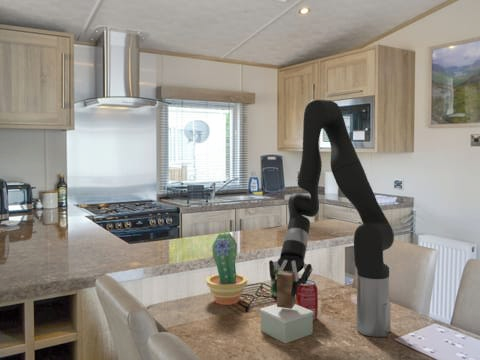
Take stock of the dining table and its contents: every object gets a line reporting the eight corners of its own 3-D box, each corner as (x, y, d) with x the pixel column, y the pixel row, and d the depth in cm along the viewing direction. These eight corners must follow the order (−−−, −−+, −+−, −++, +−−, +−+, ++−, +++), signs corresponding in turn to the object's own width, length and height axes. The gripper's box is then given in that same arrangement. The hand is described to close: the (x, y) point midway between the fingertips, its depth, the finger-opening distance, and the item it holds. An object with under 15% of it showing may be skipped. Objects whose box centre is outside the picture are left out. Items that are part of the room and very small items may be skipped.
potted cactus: (197, 301, 157) (196, 234, 156) (225, 290, 169) (224, 228, 167) (228, 311, 147) (227, 239, 146) (256, 299, 159) (255, 232, 157)
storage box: (313, 334, 129) (313, 311, 128) (285, 344, 122) (285, 320, 121) (287, 322, 138) (287, 300, 137) (259, 331, 131) (259, 308, 131)
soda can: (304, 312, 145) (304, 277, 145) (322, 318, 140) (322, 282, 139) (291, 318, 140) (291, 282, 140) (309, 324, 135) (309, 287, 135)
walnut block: (295, 303, 131) (295, 271, 130) (291, 308, 126) (291, 275, 126) (281, 301, 132) (281, 269, 132) (276, 306, 128) (276, 273, 128)
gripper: (271, 237, 138) (258, 285, 127) (315, 240, 132) (306, 290, 122) (276, 250, 143) (264, 297, 133) (318, 253, 138) (310, 302, 127)
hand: (284, 293), depth 127 cm, fingers closed on walnut block, 4 cm apart
